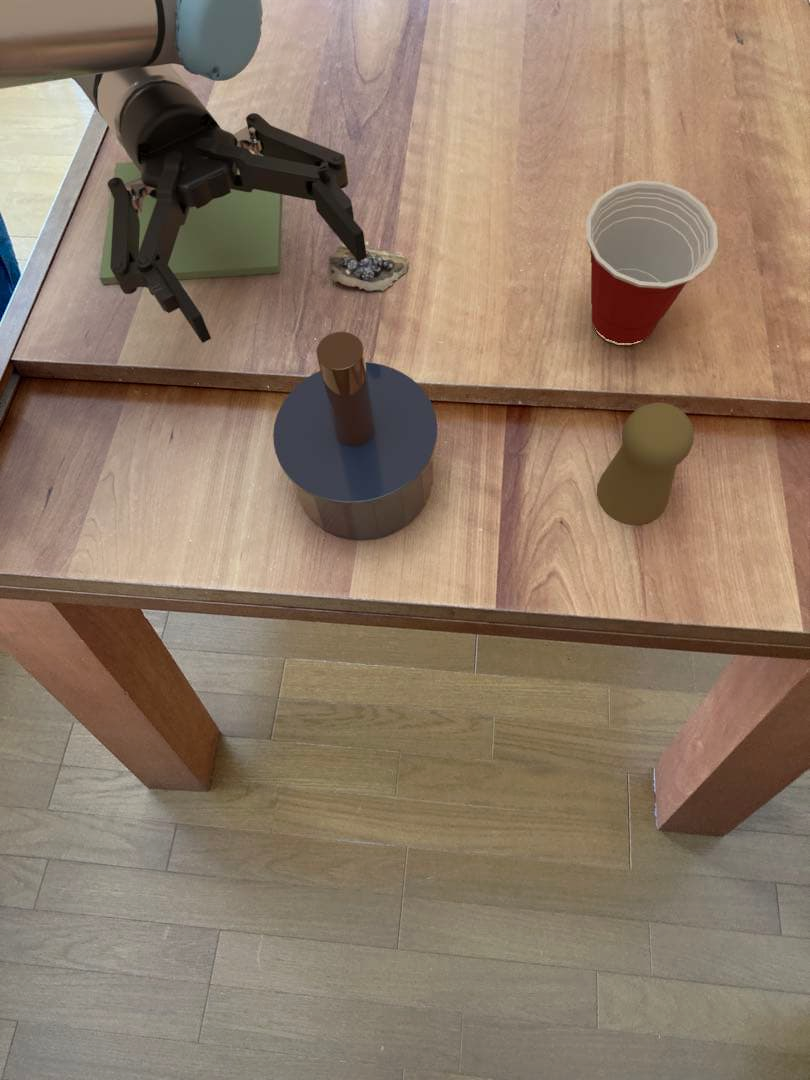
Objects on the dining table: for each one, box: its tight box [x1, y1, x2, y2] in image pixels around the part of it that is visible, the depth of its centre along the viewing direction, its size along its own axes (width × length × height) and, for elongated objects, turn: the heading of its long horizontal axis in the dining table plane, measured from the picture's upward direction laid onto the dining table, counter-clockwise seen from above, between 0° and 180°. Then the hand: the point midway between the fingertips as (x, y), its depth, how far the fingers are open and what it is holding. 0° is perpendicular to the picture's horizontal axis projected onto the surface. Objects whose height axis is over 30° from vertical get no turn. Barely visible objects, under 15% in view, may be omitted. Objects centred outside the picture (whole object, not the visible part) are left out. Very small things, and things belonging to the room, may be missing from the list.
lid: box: [272, 331, 438, 506], centre depth 61 cm, size 13×13×11 cm
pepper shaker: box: [596, 402, 695, 526], centre depth 65 cm, size 6×6×11 cm
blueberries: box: [328, 240, 409, 292], centre depth 81 cm, size 7×8×2 cm
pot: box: [291, 457, 434, 541], centre depth 69 cm, size 12×12×8 cm
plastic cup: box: [585, 180, 719, 343], centre depth 72 cm, size 11×11×12 cm
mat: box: [98, 154, 283, 285], centre depth 85 cm, size 18×16×1 cm
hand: (283, 287), depth 61 cm, fingers open, 13 cm apart
